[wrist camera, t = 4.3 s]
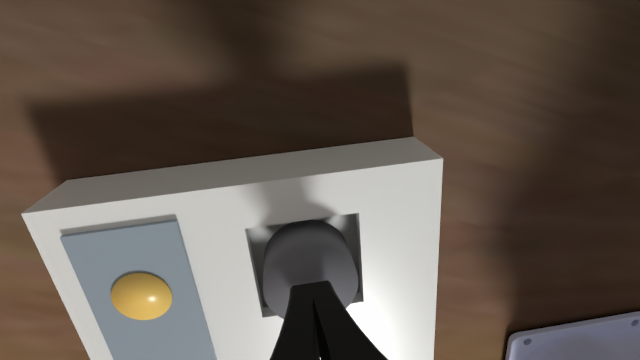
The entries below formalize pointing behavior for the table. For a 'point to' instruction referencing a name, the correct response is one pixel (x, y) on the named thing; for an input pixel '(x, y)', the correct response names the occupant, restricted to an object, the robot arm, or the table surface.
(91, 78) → the table surface
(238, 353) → the button board
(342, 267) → the button
